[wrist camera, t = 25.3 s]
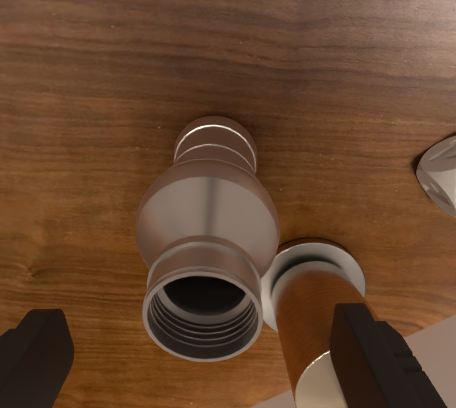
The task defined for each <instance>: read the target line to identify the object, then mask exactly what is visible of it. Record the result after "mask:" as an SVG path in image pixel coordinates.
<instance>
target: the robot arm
mask: <svg viewBox="0 0 456 408" xmlns="http://www.w3.org/2000/svg"><path fill="white" fill-rule="evenodd" d="M329 348H330V356H331V361H332V364H333V367H334V370H335V373H336V376H337V378H338V381H339V384H340V387H341V390H342V393H343V396H344V398H345V401H346V404H347V407H348V408H447V406H446V405H445V403H444V402H443V400H442V398H441V397H440V395H439V394H438V392H437V391H436V389H435V387H434V386H433V385H432V383H431V381H430V380H429V378H428V376H427V375H426V373H425V372H424V371H422V367H421V365H420V364H419V362H418V361H417V359H416V358H415V356H413V354H412V351H411V350H410V348H409V347H408V345H407V343H406V342H405V340H404V339H403V337H402V335H400V334H399V333H398V332H397V331H396V330H395V329H393V328H392V327H391V326H390V325H389V324H388V323H387V322H385V321H375V320H374V318H373V316H372V315H371V313H370V311H369V309H368V308H367V306H366V305H365V304H364V303H337V304H336V305H335V309H334V315H333V322H332V328H331V335H330V342H329ZM73 359H74V345H73V342H72V338H71V335H70V332H69V329H68V325H67V322H66V319H65V315H64V313H63V311H62V310H61V309H33V310H31V311H29V312H28V313H27V314H26V316H25V317H24V318H23V320H22V321H21V322H20V324H19V325H18V326H17V328H16V329H9V330H8V331H7V332H5V333H4V334H3V335H2V336H0V408H52V406H53V404H54V402H55V400H56V398H57V396H58V394H59V392H60V390H61V388H62V385H63V383H64V381H65V379H66V377H67V375H68V373H69V371H70V369H71V366H72V363H73Z"/></svg>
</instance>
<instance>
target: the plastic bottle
mask: <svg viewBox="0 0 456 408" xmlns="http://www.w3.org/2000/svg"><path fill="white" fill-rule="evenodd" d="M257 161H258V155H257V148H256V145H255V142H254V140H253V138H252V136H251V135H250V134H249V132H248V131H247V130H246V129H245V128H244V127H243V126H242V125H240V124H239V123H237V122H236V121H234V120H232V119H229V118H226V117H222V116H205V117H202V118H198V119H196V120H194V121H192V122H191V123H189V124H188V125H187V126H186V127H185V128H184V129H183V130H182V131H181V133H180V134H179V136H178V138H177V140H176V143H175V147H174V164H173V165H172V167H170V168H169V169H168V170H166V171H165V172H164V173H163V174H161V175H160V176H159V177H158V178H157V179H156V180H155V181H154V182H153V183H152V184H151V186H150V187H149V188H148V189H147V191H146V192H145V193H144V194H143V197H142V199H141V201H140V203H139V205H138V208H137V213H136V218H135V224H136V242H137V246H138V250H139V253H140V255H141V257H142V259H143V261H144V263H145V265H146V266H147V267H148V268H149V270H150V271H149V275H148V279H147V292H146V295H145V299H144V303H143V322H144V325H145V328H146V330H147V332H148V334H149V336H150V337H151V338H152V339H153V340H154V342H155V343H156V344H157V345H159V346H160V347H161V348H162V349H164V350H165V351H167V352H169V353H171V354H173V355H175V356H177V357H180V358H183V359H187V360H191V361H199V362H214V361H220V360H225V359H229V358H231V357H234V356H237V355H238V354H240V353H242V352H244V351H245V350H246V349H248V348H249V347H250V346H251V345H252V344H253V343H254V342H255V340H256V339H257V338H258V336H259V334H260V332H261V329H262V324H263V306H262V301H261V293H262V286H261V278H262V277H263V276H264V275H265V274H266V272H267V271H268V270H269V268H270V267H271V265H272V263H273V261H274V258H275V256H276V253H277V249H278V245H279V239H280V220H279V216H278V213H277V209H276V207H275V205H274V203H273V201H272V200H271V198H270V196H269V194H268V192H267V190H266V189H265V188H264V187H263V185H262V184H261V183H260V181H259V180H258V179H257V178H256V175H255V173H256V169H257Z"/></svg>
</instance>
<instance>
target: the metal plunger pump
mask: <svg viewBox="0 0 456 408" xmlns="http://www.w3.org/2000/svg"><path fill="white" fill-rule="evenodd" d="M261 286H262V293H261V301H262V306H263V320H264V321H265V322H266V324H267V325H268V326H270V327H271V328H272V329H273V330H275V331H276V332H278V334H279V338H280V342H281V346H282V350H283V355H284V359H285V363H286V367H287V371H288V376H289V380H290V384H291V388H292V392H293V396H294V401H295V404H296V408H348V407H347V404H346V401H345V398H344V396H343V393H342V390H341V387H340V384H339V381H338V378H337V376H336V373H335V370H334V367H333V364H332V361H331V356H330V348H329V342H330V335H331V328H332V322H333V315H334V309H335V305H336V304H337V303H364V304H365V305H366V306H367V308H368V309H369V311H370V313H371V315H372V316H373V318H374V320H375V321H381V320H380V319H379V318H378V316H377V315H376V314H375V312H374V311H373V310H372V308H371V307H370V306H369V304H368V303H367V301H366V300H365V299H364V296H365V279H364V275H363V272H362V270H361V267H360V266H359V264H358V263H357V261H356V260H355V259H354V258H353V257H352V256H351V254H350V253H349V252H348V251H346V250H345V249H344V248H343V247H341V246H340V245H338V244H336V243H334V242H331V241H328V240H325V239H319V238H305V239H299V240H295V241H292V242H289V243H287V244H284V245H282V246H281V247H279V248H278V249H277V253H276V256H275V258H274V261H273V263H272V265H271V267H270V268H269V270H268V271H267V272H266V274H265V275H264V276H263V277H262V278H261Z"/></svg>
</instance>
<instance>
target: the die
mask: <svg viewBox="0 0 456 408" xmlns="http://www.w3.org/2000/svg"><path fill="white" fill-rule="evenodd" d="M416 175H417V178H418V181H419V182H420V184H421V186H422V187H423V189H424V190H425V192H426V193H427V194H428V196H429V197H430V198H431V199H432V200H433V201H434V203H435V204H436V205H437V206H438V207H440V208H441V209H442V210H443V211H444V212H446V213H447V214H449V215H451V216H455V217H456V136H453V137H450V138H448V139H445V140H443V141H441V142H439V143H437V144H436V145H434V146H433V147H431V148H430V149H429V150H428V151H427V152H426V153H425V154H424V155H423V156H422V158H421V160H420V162H419V164H418V167H417V171H416Z"/></svg>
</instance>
